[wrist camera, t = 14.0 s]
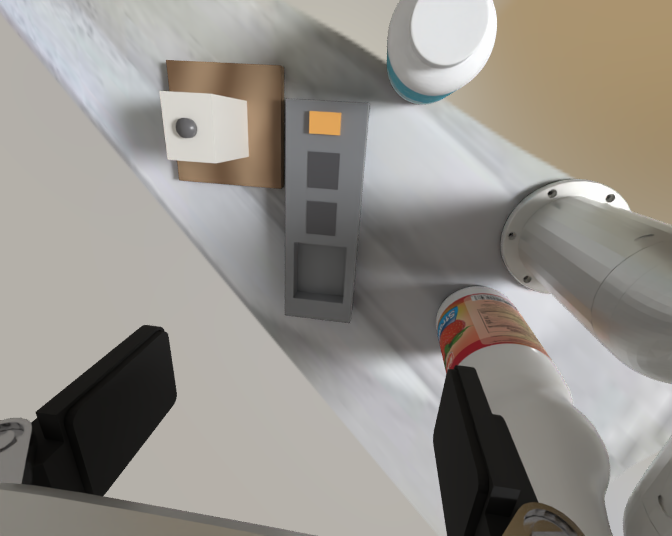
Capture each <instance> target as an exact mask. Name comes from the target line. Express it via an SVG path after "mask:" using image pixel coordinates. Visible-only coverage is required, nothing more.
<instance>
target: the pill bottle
mask: <svg viewBox="0 0 672 536" xmlns="http://www.w3.org/2000/svg"><path fill="white" fill-rule="evenodd" d="M496 30H497V18H496V10H495V7H494V3H493V1H492V0H400V1H399V3H398V4H397V7H396V8H395V10H394V13H393V15H392V18H391V21H390V25H389V31H388V40H387V72H388V77H389V80H390V83H391V85H392V87H393V88H394V90H395V91H396V92H397V93H398V94H399V95H400V96H401V97H402V98H403V99H405V100H407V101H409V102H411V103H415V104H430V103H434V102H437V101H439V100H441V99H443V98H445V97H446V96H448V95H450V94H451V93H453V92H455V91H456V90H458V89H460V88H461V87H463V86H464V85H466V84H467V83H469V82H470V81H471V80H472V79H473V78H474V77H475V76H476V75H477V74H478V73H479V72H480V71H481V69H482V68H483V67H484V65H485V64H486V62H487V60H488V58H489V56H490V54H491V51H492V49H493V46H494V42H495V37H496Z"/></svg>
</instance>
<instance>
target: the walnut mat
mask: <svg viewBox="0 0 672 536" xmlns="http://www.w3.org/2000/svg"><path fill="white" fill-rule="evenodd" d="M166 64H167V73H168V82H169V91H171V92H189V93H207V94H215V95H220V96H225V97H230V98H235V99H240V100H245V101H247V119H248V148H249V157H245V158H240V159H235V160H230V161H225V162H220V163H204V162H190V161H177V164H178V174H179V180H182V181H194V182H206V183H218V184H230V185H242V186H254V187H266V188H278V189H281V188H283V187H284V67H283V66H281V65H260V64H238V63H217V62H195V61H174V60H166Z"/></svg>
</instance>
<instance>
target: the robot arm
mask: <svg viewBox="0 0 672 536" xmlns="http://www.w3.org/2000/svg"><path fill="white" fill-rule="evenodd" d="M550 190H551V193H550V194H549V195H548V192H549V191H550ZM606 196H607V198H606ZM605 198H606V199H605ZM511 232H512V235H511V236H508V235H509V234H510V233H511ZM501 254H502V258H503V261H504V264H505V266H506V267H507V269H508V270H509V272H510V273H511V274H512V276H513V277H514V278H515V279H516V280H517V281H518V282H520V283H521V284H522V285H524V286H525V287H527V288H529V289H531V290H534V291H537V292H541V293H546V294H552V295H553V296H554V297H555V298H556V299H557V300H558V301H559V302H560V303H561V304H562V305H563V306H564V307H565V308H566V309H567V310H568V311H569V312H570V313H571V314H572V315H573V316H574V317H575V318H576V319H577V320H578V321H579V322H580V323H581V324H582V325H583V326H584V327H585V328H586V329H587V330H588V331H589V332H590V333H591V334H592V335H593V336H594V337H595V338H596V339H597V340H598V341H599V342H600V343H601V344H602V345H603V346H604V347H605V348H606V349H607V350H608V351H610V352H611V353H612V354H613V355H614V356H615V357H616V358H617V359H618V360H619V361H621V362H622V363H623V364H624V365H626V366H627V367H629V368H630V369H632V370H634V371H636V372H637V373H639V374H642V375H644V376H646V377H649V378H651V379H654V380H657V381H660V382H665V383H669V384H672V225H670V224H667V223H664V222H661V221H658V220H655V219H652V218H649V217H646V216H644V215H641V214H637V213H635V212H632V211H631V210H630V208H629V206H628V204H627V202H626V201H625V200H624V199H623V197H622V196H621V195H620V194H619V193H618V192H616V191H615V190H613V189H612V188H610V187H609V186H606V185H604V184H601V183H598V182H594V181H590V180H581V179H570V180H562V181H558V182H554V183H551V184H548V185H546V186H544V187H542V188H540V189H537V190H536V191H534V192H533V193H531V194H530V195H528V196H527V197H526V198H525V199H524V200H523V201H522V202H520V203H519V204H518V205H517V207H516V208H515V209H514V210H513V212H512V213H511V214H510V216H509V218H508V220H507V222H506V224H505V226H504V229H503V232H502V236H501ZM525 276H526V277H525ZM524 277H525V278H524ZM176 397H177V392H176V385H175V378H174V371H173V364H172V358H171V351H170V344H169V337H168V334H167V332H164V329H163V328H162V327H157V326H150V325H143V326H142V327H140V328H139V329H138V330H136V331H135V332H134V333H133V334H132V335H130V336H129V337H128V338H127V339H125V340H124V341H123V342H122V343H120V344H119V345H118V346H117V347H115V348H114V349H113V350H112V351H110V352H109V353H108V354H107V355H106V356H104V357H103V358H102V359H101V360H99V361H98V362H97V363H96V364H94V365H93V366H92V367H91V368H90V369H88V370H87V371H86V372H84V373H83V374H82V375H81V376H79V377H78V378H77V379H76V380H75V381H73V382H72V383H71V384H70V385H68V386H67V387H66V388H65V389H63V390H62V391H61V392H60V393H58V394H57V395H56V396H55V397H54V398H52V399H51V400H50V401H49V402H47V403H46V404H45V405H44V406H42V407H41V408H40V409H39V410H37V412H36V415H37V418H36V419H35V420H34V421H33V422H32V423H31V422H30V421H28V420H27V419H23V418H10V419H5V420H0V536H316V535H310V534H305V533H300V532H294V531H290V530H284V529H279V528H274V527H269V526H263V525H258V524H252V523H247V522H241V521H236V520H231V519H225V518H220V517H214V516H209V515H203V514H198V513H192V512H187V511H182V510H176V509H171V508H165V507H159V506H153V505H148V504H143V503H136V502H131V501H126V500H120V499H114V498H109V497H103V496H104V494H105V493H106V492H107V491H108V490H109V488H110V487H111V486H112V484H113V483H114V482H115V480H116V479H117V478H118V477H119V475H120V474H121V473H122V471H123V470H124V469H125V467H126V466H127V465H128V464H129V462H130V461H131V460H132V458H133V457H134V456H135V454H136V453H137V452H138V451H139V449H140V448H141V447H142V445H143V444H144V443H145V441H146V440H147V439H148V437H149V436H150V435H151V434H152V432H153V431H154V430H155V428H156V427H157V426H158V425H159V423H160V422H161V421H162V419H163V418H164V417H165V415H166V414H167V413H168V412H169V410H170V409H171V408H172V406H173V405H174V403H175V401H176ZM433 444H434V451H435V458H436V465H437V471H438V478H439V485H440V491H441V498H442V504H443V511H444V518H445V524H446V531H447V536H585V535H584V533H583V532H582V531H581V530H580V528H579V527H578V526H577V525H576V524H575V523H574V522H573V521H572V520H571V519H570V518H569V517H567V516H566V515H565V514H564V513H562V512H560V511H559V510H557V509H555V508H554V507H552V506H549V505H546V504H543V503H539V502H538V500H537V497H536V495H535V493H534V490H533V488H532V485H531V483H530V480H529V478H528V475H527V473H526V470H525V468H524V466H523V463H522V461H521V458H520V456H519V453H518V451H517V448H516V446H515V444H514V441H513V439H512V436H511V434H510V431H509V429H508V426H507V424H506V422H505V420H504V418H503V417H502V416H501V415H496V414H492V412H491V409H490V406H489V404H488V401H487V398H486V396H485V393H484V390H483V388H482V385H481V382H480V379H479V377H478V374H477V371H476V369H475V368H474V367H469V366H461V365H455V366H454V369H448V370H447V374H446V379H445V383H444V388H443V392H442V397H441V402H440V406H439V411H438V415H437V420H436V424H435V429H434V434H433ZM623 532H624V536H672V435H671V437H670V438H669V440H668V441H667V442H666V444H665V445H664V447H663V448H662V449H661V451H660V452H659V453H658V455H657V457H656V458H655V459H654V461H653V462H652V464H651V465H650V466H649V467H648V469H647V470H646V472H645V473H644V475H643V477H642V478H641V480H640V481H639V483H638V484H637V486H636V487H635V489H634V491H633V492H632V494H631V496H630V497H629V499H628V502H627V505H626V507H625V511H624V516H623Z"/></svg>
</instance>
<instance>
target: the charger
mask: <svg viewBox="0 0 672 536" xmlns="http://www.w3.org/2000/svg"><path fill="white" fill-rule="evenodd" d="M159 92H160V100H161V109H162V117H163V125H164V134H165V142H166V150H167V159H168V160H177V161H190V162H204V163H220V162H225V161H230V160H235V159H240V158H245V157H249V148H248V119H247V101H245V100H240V99H235V98H230V97H225V96H220V95H215V94H207V93H189V92H171V91H159Z"/></svg>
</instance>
